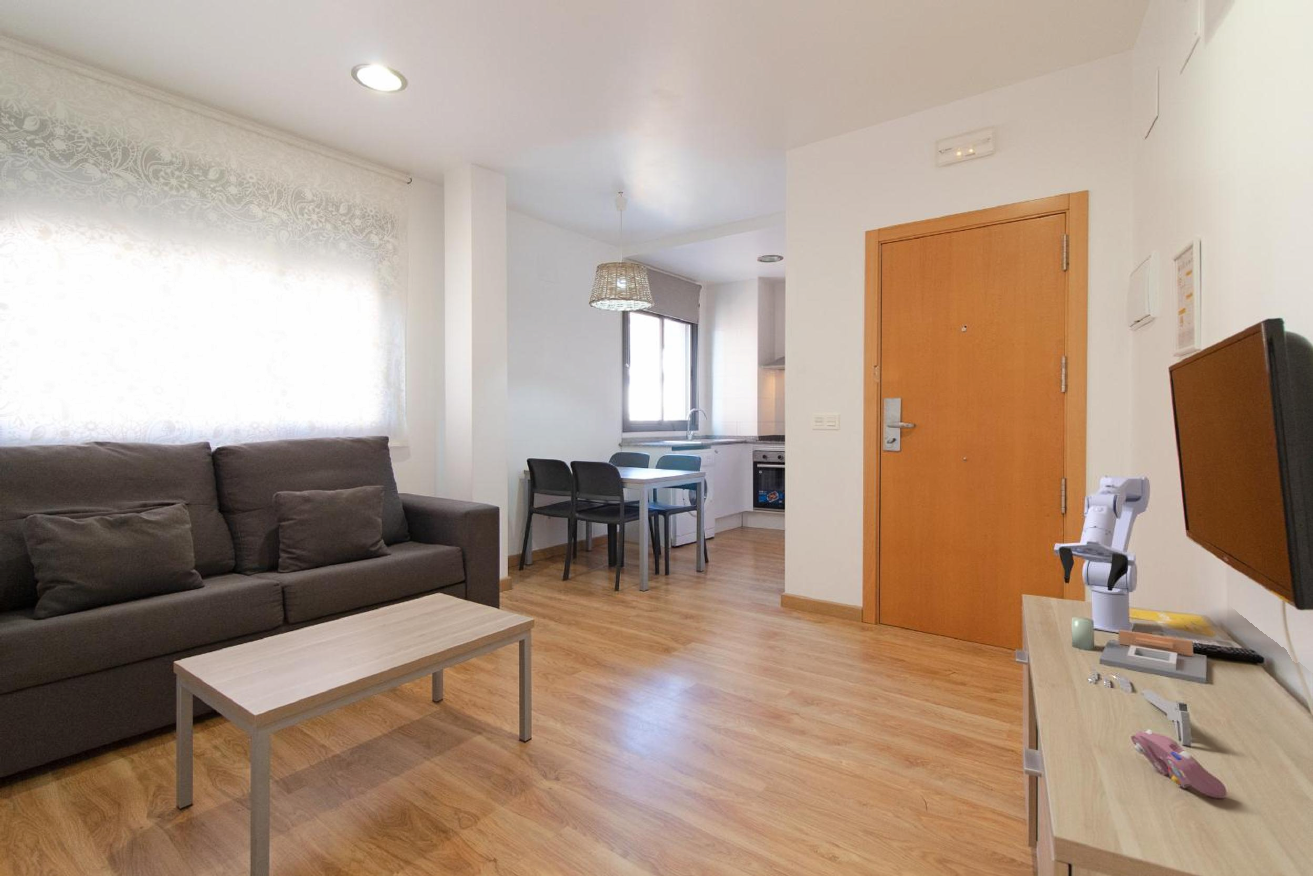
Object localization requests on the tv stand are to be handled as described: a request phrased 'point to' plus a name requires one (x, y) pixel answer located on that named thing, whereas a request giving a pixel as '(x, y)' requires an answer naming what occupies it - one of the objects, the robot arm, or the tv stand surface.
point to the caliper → (1173, 715)
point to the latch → (1156, 642)
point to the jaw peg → (1082, 633)
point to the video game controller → (1177, 763)
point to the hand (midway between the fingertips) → (1087, 584)
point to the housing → (1155, 661)
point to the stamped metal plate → (1122, 680)
